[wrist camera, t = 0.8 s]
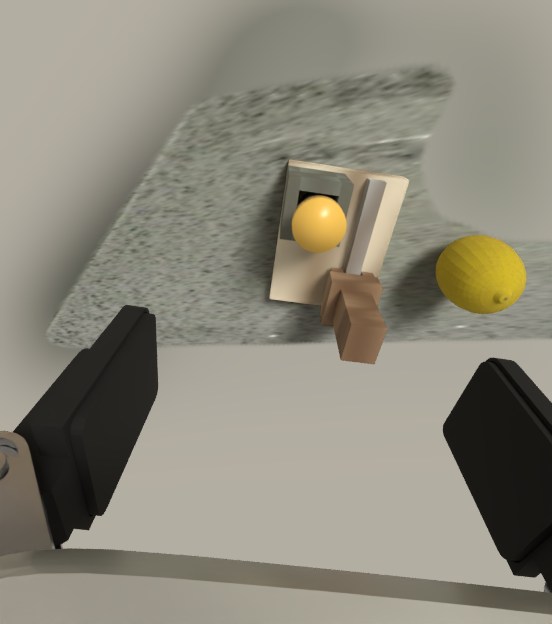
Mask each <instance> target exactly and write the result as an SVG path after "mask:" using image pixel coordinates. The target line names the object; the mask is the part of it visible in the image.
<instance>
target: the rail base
mask: <svg viewBox="0 0 552 624" xmlns="http://www.w3.org/2000/svg"><path fill="white" fill-rule="evenodd" d="M408 183H409V180H408V179H406V178H405V177H402V176H396V175H389V174H382V173H376V172H369V171H362V170H356V169H349V168H342V167H336V166H329V165H322V164H316V163H309V162H302V161H296V160H289V163H288V170H287V177H286V184H285V191H284V198H283V205H282V212H281V219H280V226H279V233H278V240H277V247H276V254H275V261H274V268H273V275H272V282H271V289H270V299H274V300H282V301H289V302H297V303H305V304H312V305H320V306H321V305H322V301H323V296H324V292H325V288H326V284H327V279H328V275H329V271H330V269H331V267H332V268H340V269H343V272H344V273H348V274H355V275H360V274H361V271H362V272H369V273H373V274H374V276H375V277H377V278H378V276H379V273H380V270H381V267H382V264H383V261H384V258H385V254H386V251H387V248H388V245H389V242H390V239H391V236H392V233H393V230H394V227H395V224H396V220H397V217H398V214H399V211H400V208H401V205H402V202H403V199H404V196H405V193H406V189H407V186H408ZM308 192H315V193H322V194H323V195H324V196H327V197H330V198H332V199H333V200H335V201H336V202H337V203H338V204H339V206H340V207H341V209H342V211H343V213H344V215H345V218H346V232H345V235H344V237H343V239H342V240H341V242H340V243H339V244H338V245H337V246H336V247H334V248H333V249H331V250H329V251H326V252H321V253H314V252H310V251H307V250H305V249H303V248H302V247H301V246H299V245H298V243H297V242H296V240H295V239H294V236H293V233H292V217H293V213H294V211H295V209H296V208H297V206H298V205H299V204H300V200H301V198H302V197H303V196H304V195H305V194H306V193H308Z"/></svg>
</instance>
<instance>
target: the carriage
mask: <svg viewBox="0 0 552 624" xmlns="http://www.w3.org/2000/svg"><path fill="white" fill-rule="evenodd" d="M382 291H383V288H382V286H381V284H380V282H379V280H378V278H377V277H375V276H374V274H373V273H369V272H362V271H361V274H360V275H355V274H348V273H344V272H343V269H340V268H332V267H331V269H330V271H329V275H328V279H327V284H326V288H325V292H324V296H323V301H322V305H321V309H320V317H321V323H322V325H327V326H334V330H335V335H336V340H337V344H338V349H339V354H340V359H341V360H343V361H344V360H345V361H352V362H360V363H368V364H375V361H376V359H377V356H378V353H379V350H380V348H381V345H382V343H383V340H384V337H385V334H386V332H387V327H386V325H385V323H384V321H383V318H382V316H381V314H380V312H379V309H378V307H377V305H378V302H379V300H380V297H381V294H382Z"/></svg>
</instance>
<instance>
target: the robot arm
mask: <svg viewBox="0 0 552 624" xmlns="http://www.w3.org/2000/svg"><path fill="white" fill-rule="evenodd" d="M157 370H158V369H157V342H156V318H155V315H154V314H149V310H148V308H144V307H137V306H130V305H125V306H124V307H123V308H122V309H121V310H120V312H119V313H118V314H117V315H116V317H115V318H114V319H113V320H112V322H111V323H110V324H109V325H108V327H107V328H106V329H105V330H104V332H103V333H102V334H101V335H100V337H99V338H98V339H97V340H96V342H95V343H94V344H93V345H92V347H91V348H90V349H88V348H86V349H83V350H81V352H79V353H78V354H77V356H76V357H75V358H74V359H73V360H72V361H71V363H70V364H69V365H68V366H67V367H66V369H65V370H64V371H63V372H62V373H61V375H60V376H59V377H58V378H57V379H56V381H55V382H54V383H53V384H52V385H51V387H50V388H49V389H48V390H47V392H46V393H45V394H44V395H43V396H42V398H41V399H40V400H39V401H38V402H37V403H36V405H35V406H34V407H33V408H32V410H31V411H30V412H29V413H28V414H27V416H26V417H25V418H24V419H23V420H22V422H21V423H20V424H19V425H18V426H17V428H16V429H15V430H14V431H13V432H8V431H0V624H552V403H551V402H550V401H549V399H548V398H547V397H546V396H545V395H544V394H543V393H542V392H541V390H540V389H539V388H538V387H537V386H536V385H535V384H534V382H533V381H532V380H531V379H530V378H529V377H528V376H527V375H526V373H525V372H524V371H523V370H522V369H521V368H520V367H519V365H517V363H515V362H514V361H512V360H506V359H498V358H489V359H488V360H486V362H483V363H481V364H480V365H479V367H478V369H477V370H476V372H475V373H474V375H473V377H472V379H471V380H470V382H469V383H468V385H467V387H466V388H465V390H464V391H463V393H462V395H461V397H460V398H459V400H458V401H457V403H456V405H455V406H454V408H453V410H452V411H451V413H450V415H449V416H448V418H447V419H446V421H445V423H444V425H443V434H444V437H445V439H446V441H447V443H448V445H449V447H450V449H451V452H452V454H453V456H454V458H455V460H456V462H457V464H458V466H459V469H460V471H461V473H462V475H463V477H464V479H465V481H466V484H467V486H468V488H469V490H470V492H471V494H472V496H473V498H474V501H475V503H476V505H477V507H478V509H479V511H480V513H481V515H482V518H483V520H484V522H485V524H486V526H487V528H488V530H489V532H490V535H491V537H492V539H493V541H494V543H495V545H496V547H497V549H498V551H499V553H500V555H501V556H502V557H503V558H504V559H506V560H507V562H508V564H509V566H510V569H511V570H512V572H513V575H516V576H525V577H536V576H537V575H539V574H540V573H541V574H542V575H543V577H544V579H545V581H546V583H545V587H544V592H538V591H529V590H520V589H511V588H502V587H493V586H484V585H474V584H465V583H456V582H455V583H454V582H446V581H437V580H427V579H416V578H408V577H398V576H389V575H379V574H369V573H359V572H350V571H340V570H331V569H320V568H310V567H299V566H290V565H280V564H270V563H260V562H250V561H240V560H228V559H219V558H209V557H199V556H187V555H173V554H161V553H148V552H136V551H123V550H106V549H105V550H104V549H63V547H62V544H63V543H64V542H66V541H67V540H68V539H69V537H70V535H71V533H72V531H73V529H82V530H89V528H90V527H91V524H92V522H93V520H94V518H95V516H96V515H97V516H102V515H103V514H104V512H105V511H106V509H107V507H108V504H109V502H110V500H111V498H112V495H113V493H114V491H115V489H116V486H117V484H118V482H119V479H120V477H121V475H122V473H123V471H124V468H125V466H126V464H127V462H128V459H129V457H130V455H131V452H132V450H133V448H134V445H135V444H136V441H137V439H138V437H139V435H140V432H141V430H142V428H143V425H144V423H145V421H146V419H147V416H148V414H149V412H150V410H151V407H152V405H153V403H154V401H155V398H156V395H157V391H158V371H157Z"/></svg>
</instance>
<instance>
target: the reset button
mask: <svg viewBox="0 0 552 624" xmlns="http://www.w3.org/2000/svg"><path fill="white" fill-rule="evenodd" d="M345 232H346V218H345V215H344V213H343V211H342V209H341V207H340V206H339V204H338V203H337V202H336V201H335V200H333V199H332V198H330V197H327V196H324V195H323V194H322V193H315V192H308V193H306V194H305V195H304V196H303V197H302V198H301V200H300V204H299V205H298V206H297V208H296V209H295V211H294V213H293V217H292V233H293V236H294V239H295V240H296V242H297V243H298V245H299V246H301V247H302V248H303V249H305V250H307V251H310V252H314V253H321V252H326V251H329V250H331V249H333V248H334V247H336V246H337V245H338V244H339V243H340V242H341V240H342V239H343V237H344V235H345Z"/></svg>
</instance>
